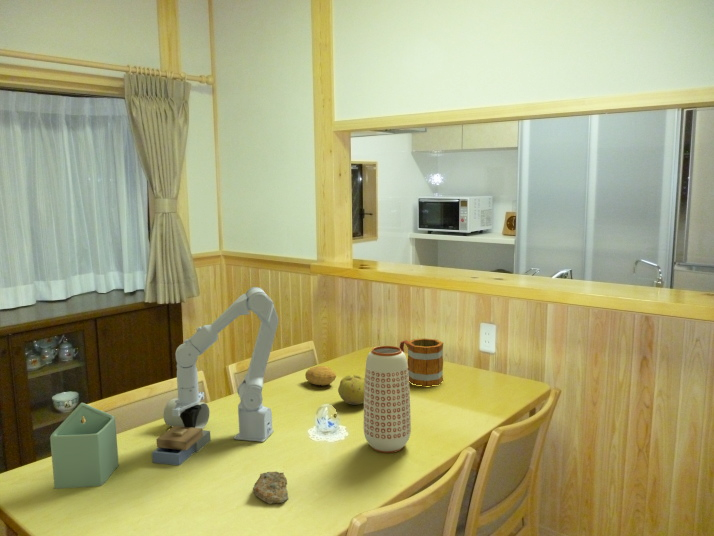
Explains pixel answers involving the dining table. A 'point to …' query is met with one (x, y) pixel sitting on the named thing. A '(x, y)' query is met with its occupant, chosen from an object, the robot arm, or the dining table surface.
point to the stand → (202, 441)
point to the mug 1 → (176, 420)
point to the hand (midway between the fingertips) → (190, 431)
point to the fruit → (352, 389)
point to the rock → (271, 487)
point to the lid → (179, 437)
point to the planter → (84, 449)
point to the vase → (387, 399)
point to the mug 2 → (424, 361)
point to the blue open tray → (171, 455)
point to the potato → (320, 375)
